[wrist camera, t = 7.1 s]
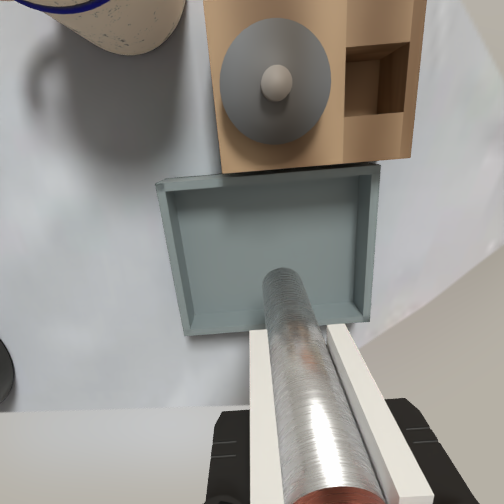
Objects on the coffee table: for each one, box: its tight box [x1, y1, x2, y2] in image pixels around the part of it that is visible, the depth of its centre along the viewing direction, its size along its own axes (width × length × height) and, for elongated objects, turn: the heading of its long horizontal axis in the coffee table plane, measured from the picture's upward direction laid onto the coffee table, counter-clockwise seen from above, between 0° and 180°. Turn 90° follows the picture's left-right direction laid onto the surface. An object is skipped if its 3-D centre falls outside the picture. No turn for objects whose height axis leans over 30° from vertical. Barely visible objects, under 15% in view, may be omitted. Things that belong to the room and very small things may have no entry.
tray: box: [155, 162, 381, 336], centre depth 25 cm, size 16×13×3 cm
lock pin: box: [262, 268, 386, 504], centre depth 13 cm, size 3×3×14 cm
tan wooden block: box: [203, 0, 427, 174], centre depth 19 cm, size 12×9×7 cm
